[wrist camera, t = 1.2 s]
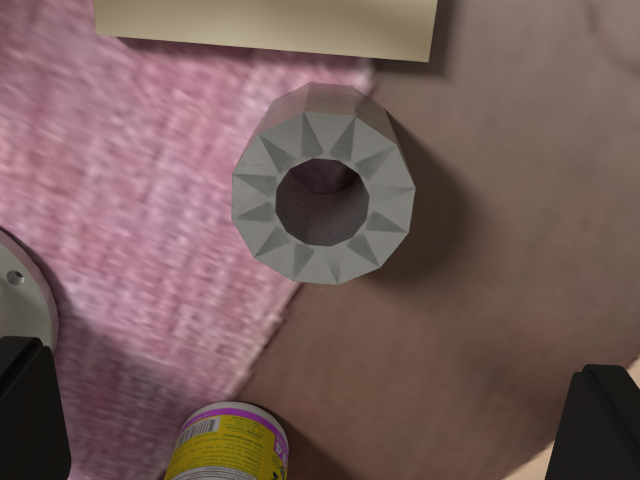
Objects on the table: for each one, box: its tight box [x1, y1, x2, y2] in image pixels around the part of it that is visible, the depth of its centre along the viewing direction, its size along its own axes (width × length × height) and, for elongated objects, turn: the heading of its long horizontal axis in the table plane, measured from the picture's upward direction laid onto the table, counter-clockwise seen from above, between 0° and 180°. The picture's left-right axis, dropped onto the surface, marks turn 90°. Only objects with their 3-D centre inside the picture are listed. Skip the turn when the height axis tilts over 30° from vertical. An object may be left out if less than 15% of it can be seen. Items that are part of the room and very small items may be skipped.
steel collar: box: [231, 82, 416, 285], centre depth 26 cm, size 7×7×6 cm
